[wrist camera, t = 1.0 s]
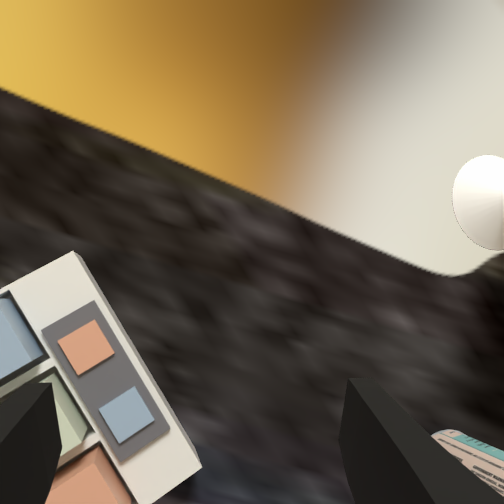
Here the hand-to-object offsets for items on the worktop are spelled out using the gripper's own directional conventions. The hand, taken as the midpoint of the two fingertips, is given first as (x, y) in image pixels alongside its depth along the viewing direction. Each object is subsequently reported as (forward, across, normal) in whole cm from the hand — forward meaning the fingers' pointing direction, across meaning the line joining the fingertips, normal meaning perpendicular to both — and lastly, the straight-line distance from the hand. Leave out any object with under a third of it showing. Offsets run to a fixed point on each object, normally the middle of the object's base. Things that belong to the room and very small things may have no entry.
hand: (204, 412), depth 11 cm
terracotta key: (+7, +6, +11) cm, 14 cm away
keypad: (+10, +7, +8) cm, 15 cm away
